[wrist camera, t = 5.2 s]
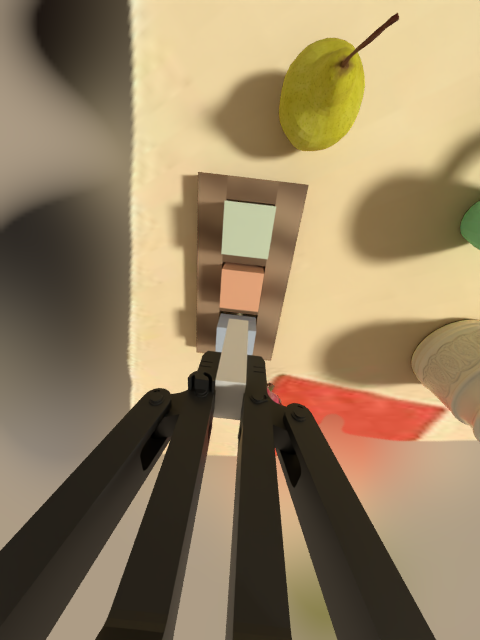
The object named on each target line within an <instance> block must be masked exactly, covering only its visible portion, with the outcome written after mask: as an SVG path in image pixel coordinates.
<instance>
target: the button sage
mask: <svg viewBox="0 0 480 640" xmlns="http://www.w3.org/2000/svg"><path fill="white" fill-rule="evenodd" d="M275 212H276V206H268V205H259V204H251V203H242V202H233V201H225V202H224V218H223V235H222V252H221V254H226V255H235V256H243V257H252V258H261V259H268V255H269V249H270V243H271V237H272V230H273V224H274V218H275Z"/></svg>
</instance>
